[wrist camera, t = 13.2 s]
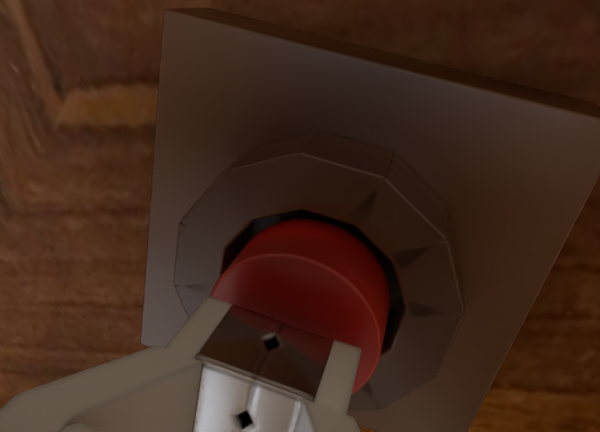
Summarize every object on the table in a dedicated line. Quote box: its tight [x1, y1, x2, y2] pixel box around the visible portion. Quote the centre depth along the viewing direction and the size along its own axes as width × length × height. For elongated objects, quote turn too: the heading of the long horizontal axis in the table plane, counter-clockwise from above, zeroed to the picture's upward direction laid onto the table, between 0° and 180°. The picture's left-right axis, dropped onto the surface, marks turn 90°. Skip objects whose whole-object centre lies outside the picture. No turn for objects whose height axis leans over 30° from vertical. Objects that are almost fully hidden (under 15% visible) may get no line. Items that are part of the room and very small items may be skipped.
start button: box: [210, 219, 390, 395], centre depth 10 cm, size 4×4×2 cm
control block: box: [140, 8, 600, 432], centre depth 13 cm, size 10×10×4 cm
